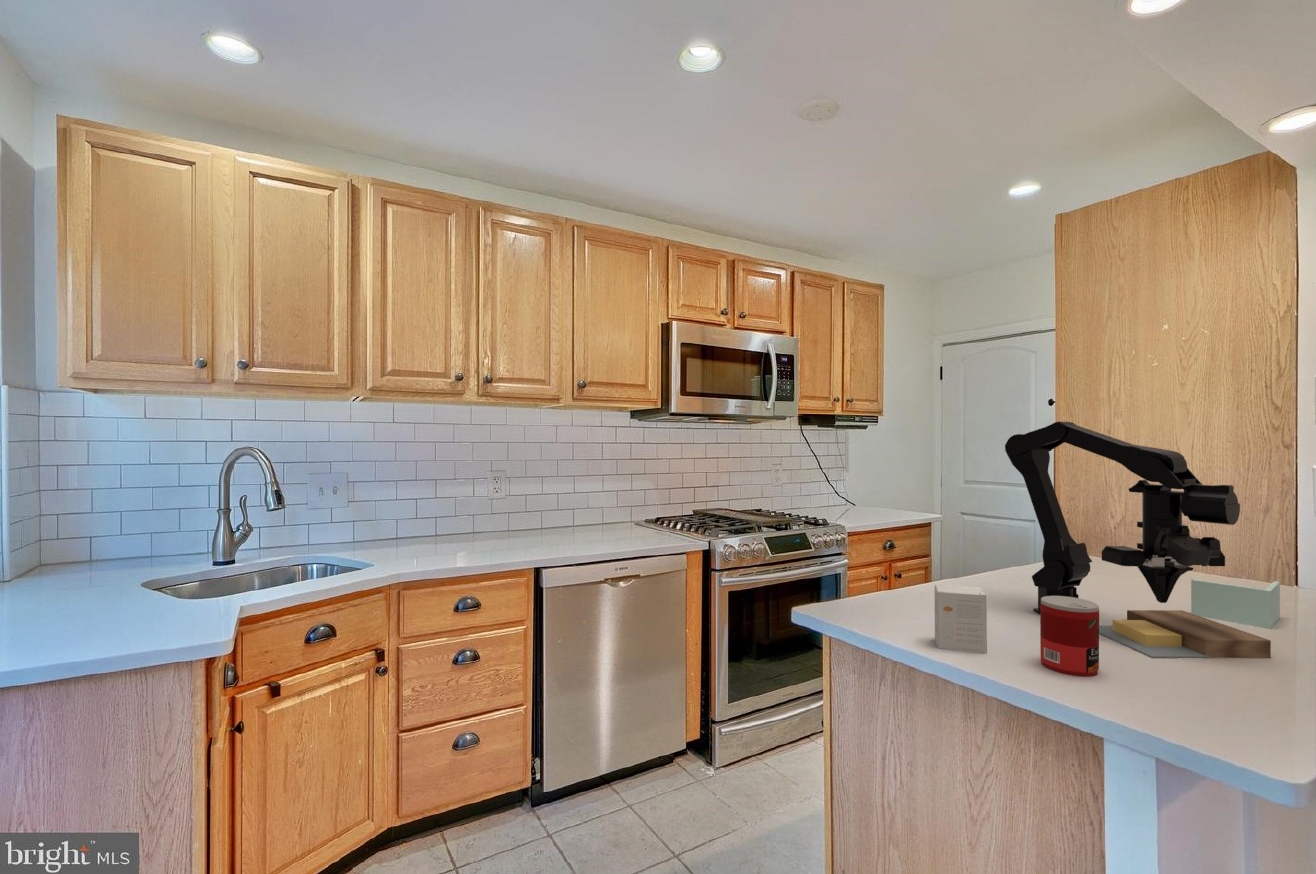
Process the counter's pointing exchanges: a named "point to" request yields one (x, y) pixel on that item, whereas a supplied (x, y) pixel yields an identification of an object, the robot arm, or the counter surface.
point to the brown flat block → (1206, 634)
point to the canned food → (1069, 635)
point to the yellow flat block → (1147, 633)
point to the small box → (961, 618)
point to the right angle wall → (1236, 603)
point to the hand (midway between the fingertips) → (1162, 602)
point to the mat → (1150, 650)
